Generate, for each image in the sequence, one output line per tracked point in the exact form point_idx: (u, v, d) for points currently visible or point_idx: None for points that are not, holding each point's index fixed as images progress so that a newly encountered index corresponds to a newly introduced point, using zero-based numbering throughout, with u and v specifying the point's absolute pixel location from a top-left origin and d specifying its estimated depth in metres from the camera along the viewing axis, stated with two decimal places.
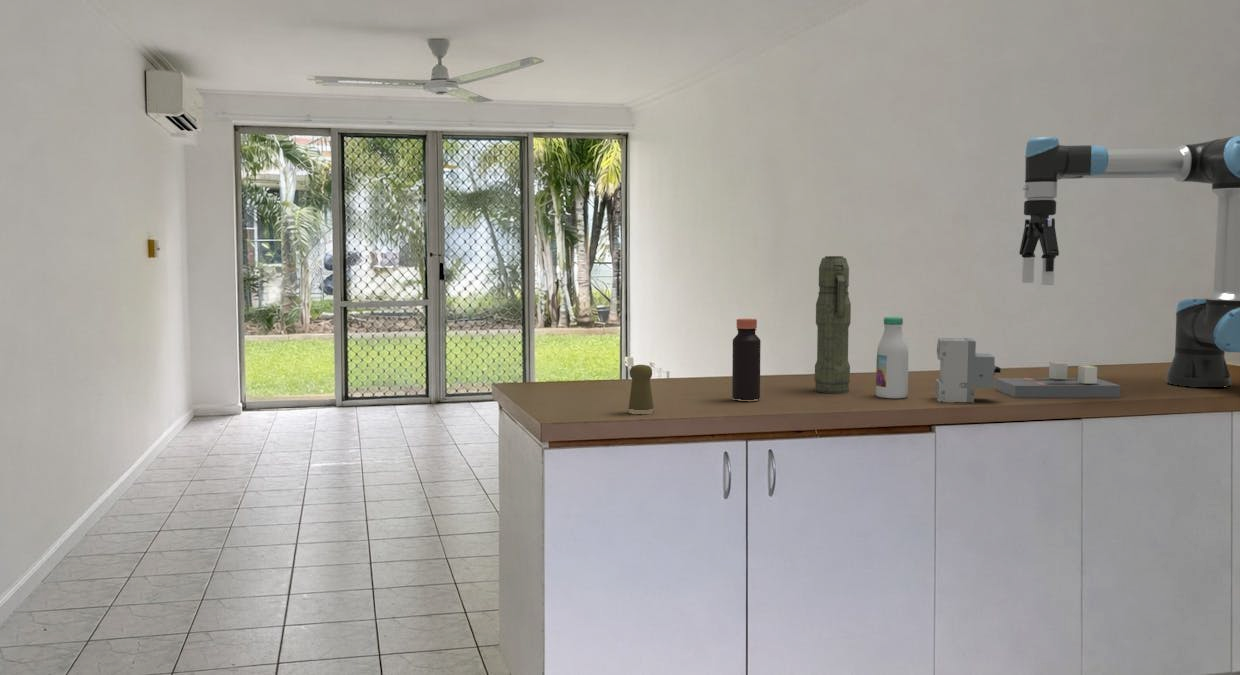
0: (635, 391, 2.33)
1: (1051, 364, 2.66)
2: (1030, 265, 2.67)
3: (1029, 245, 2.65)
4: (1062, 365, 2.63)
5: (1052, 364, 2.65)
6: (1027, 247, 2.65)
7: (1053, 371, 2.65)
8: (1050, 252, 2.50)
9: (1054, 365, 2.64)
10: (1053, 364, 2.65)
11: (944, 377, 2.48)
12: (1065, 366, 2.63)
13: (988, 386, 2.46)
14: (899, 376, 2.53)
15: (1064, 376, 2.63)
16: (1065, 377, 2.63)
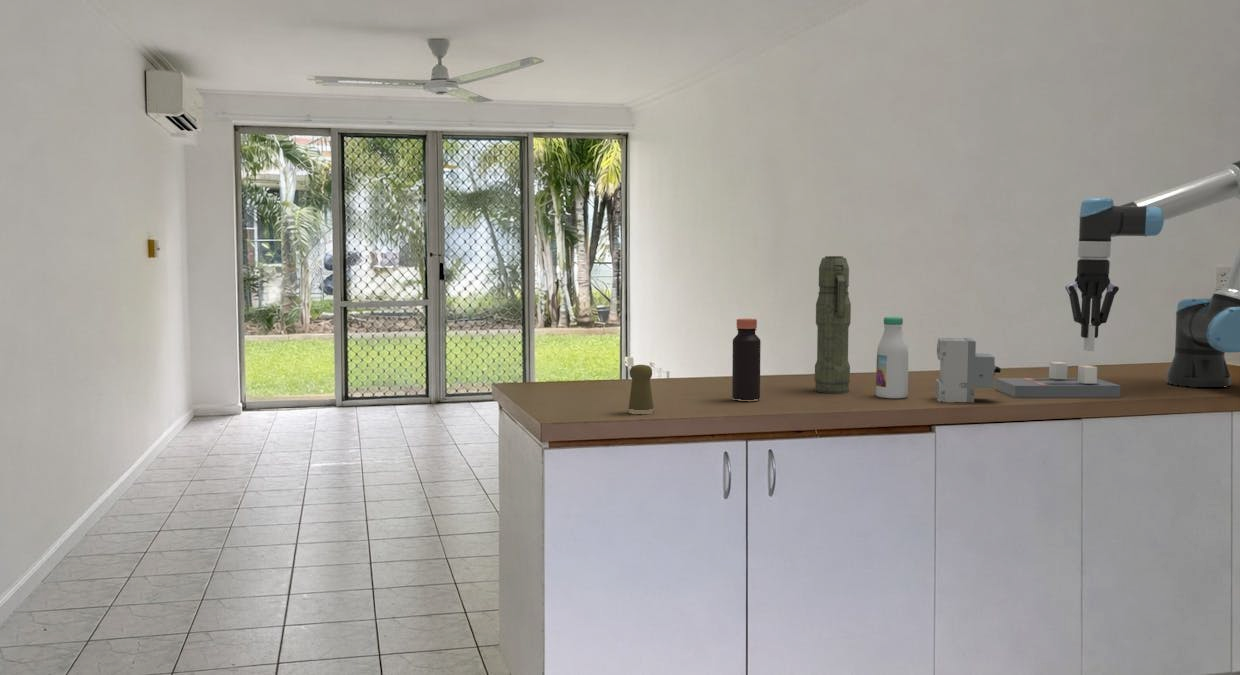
0: (635, 391, 2.33)
1: (1051, 364, 2.66)
2: None
3: (1092, 308, 2.64)
4: (1062, 365, 2.63)
5: (1052, 364, 2.65)
6: (1091, 310, 2.65)
7: (1053, 371, 2.65)
8: (1074, 320, 2.65)
9: (1054, 365, 2.64)
10: (1053, 364, 2.65)
11: (944, 377, 2.48)
12: (1065, 366, 2.63)
13: (988, 386, 2.46)
14: (899, 376, 2.53)
15: (1064, 376, 2.63)
16: (1065, 377, 2.63)
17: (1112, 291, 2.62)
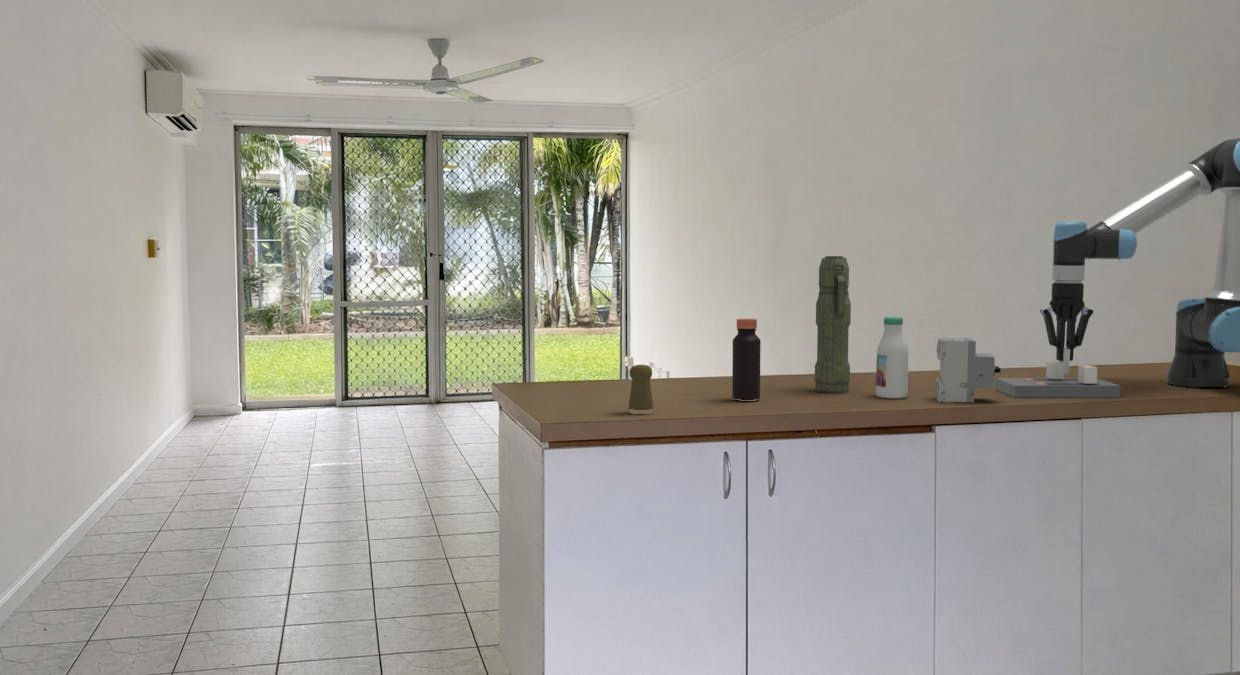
0: (635, 391, 2.33)
1: (1048, 364, 2.66)
2: None
3: (1067, 331, 2.65)
4: (1059, 365, 2.63)
5: (1049, 364, 2.65)
6: (1066, 333, 2.65)
7: (1050, 371, 2.65)
8: (1049, 343, 2.65)
9: (1051, 365, 2.64)
10: (1050, 364, 2.65)
11: (944, 377, 2.48)
12: (1062, 366, 2.63)
13: (988, 386, 2.46)
14: (899, 376, 2.53)
15: (1061, 376, 2.63)
16: (1062, 377, 2.63)
17: (1087, 314, 2.63)
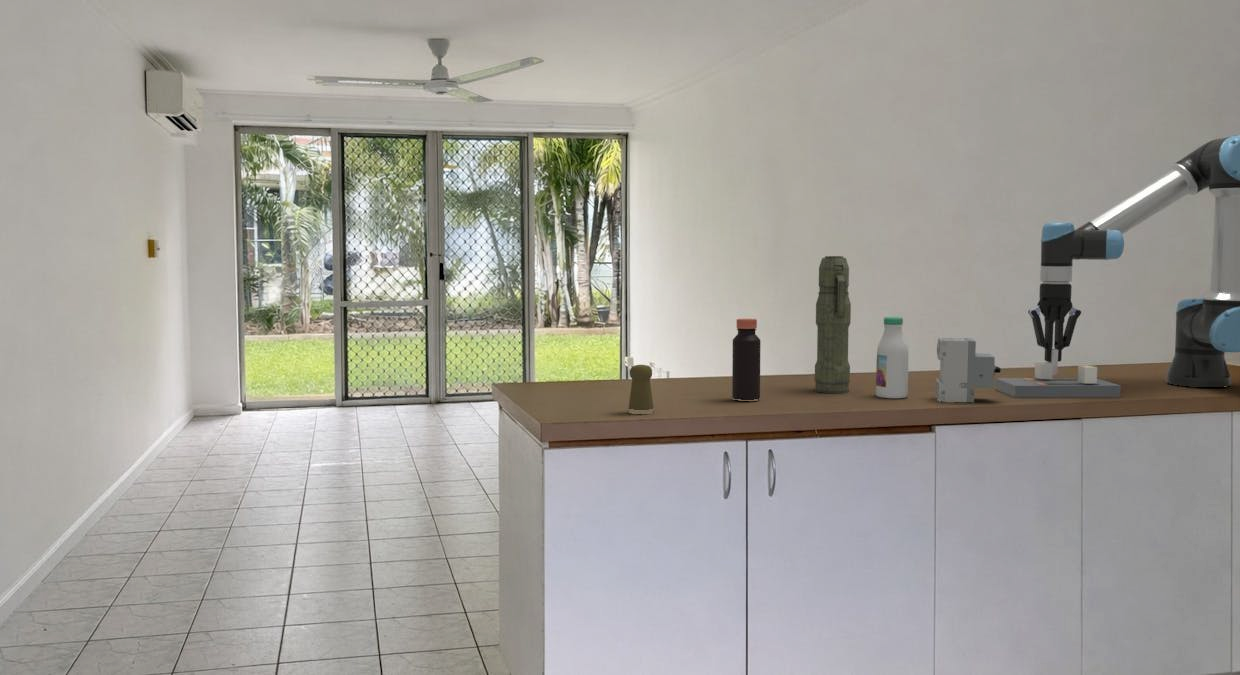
0: (635, 391, 2.33)
1: (1037, 364, 2.66)
2: None
3: (1055, 331, 2.65)
4: (1047, 365, 2.63)
5: (1038, 364, 2.65)
6: (1055, 334, 2.65)
7: (1039, 371, 2.65)
8: (1038, 344, 2.66)
9: (1040, 365, 2.64)
10: (1039, 364, 2.65)
11: (944, 377, 2.48)
12: (1050, 366, 2.63)
13: (988, 386, 2.46)
14: (899, 376, 2.53)
15: (1049, 376, 2.63)
16: (1050, 377, 2.64)
17: (1074, 315, 2.63)
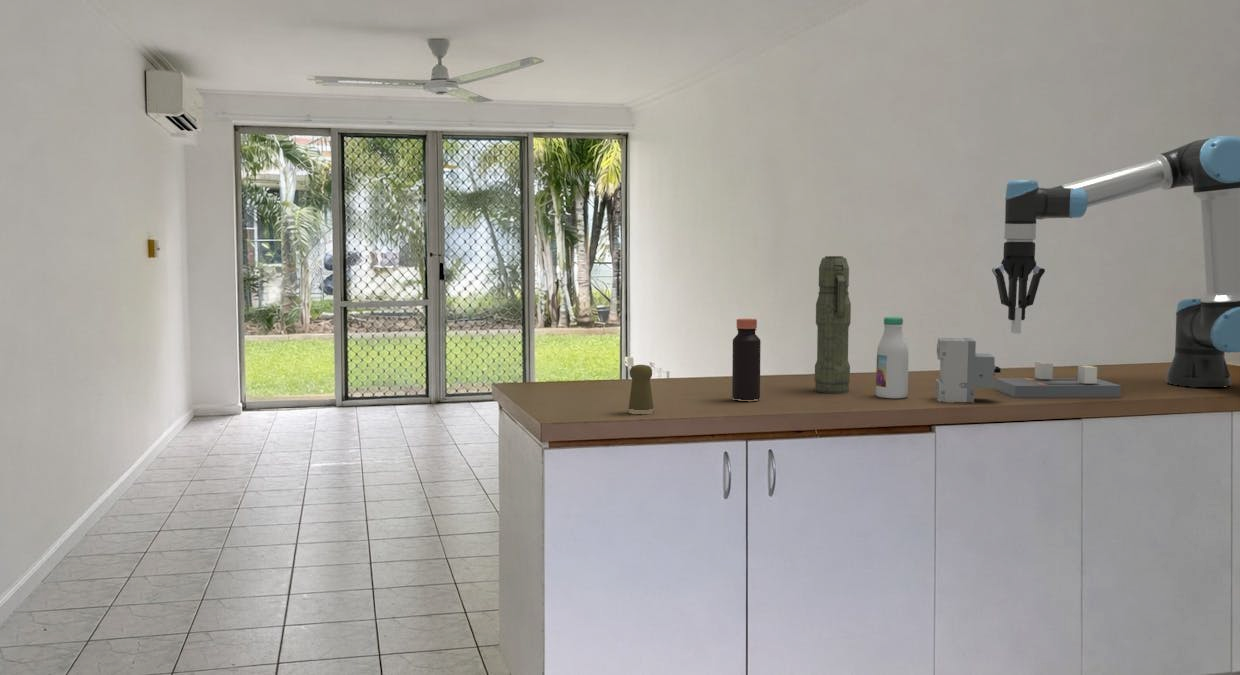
0: (635, 391, 2.33)
1: (1037, 364, 2.66)
2: None
3: (1019, 290, 2.64)
4: (1047, 365, 2.63)
5: (1038, 364, 2.65)
6: (1018, 293, 2.64)
7: (1039, 371, 2.65)
8: (1001, 303, 2.65)
9: (1040, 365, 2.64)
10: (1039, 364, 2.65)
11: (944, 377, 2.48)
12: (1050, 366, 2.63)
13: (988, 386, 2.46)
14: (899, 376, 2.53)
15: (1049, 376, 2.63)
16: (1050, 377, 2.64)
17: (1038, 273, 2.62)
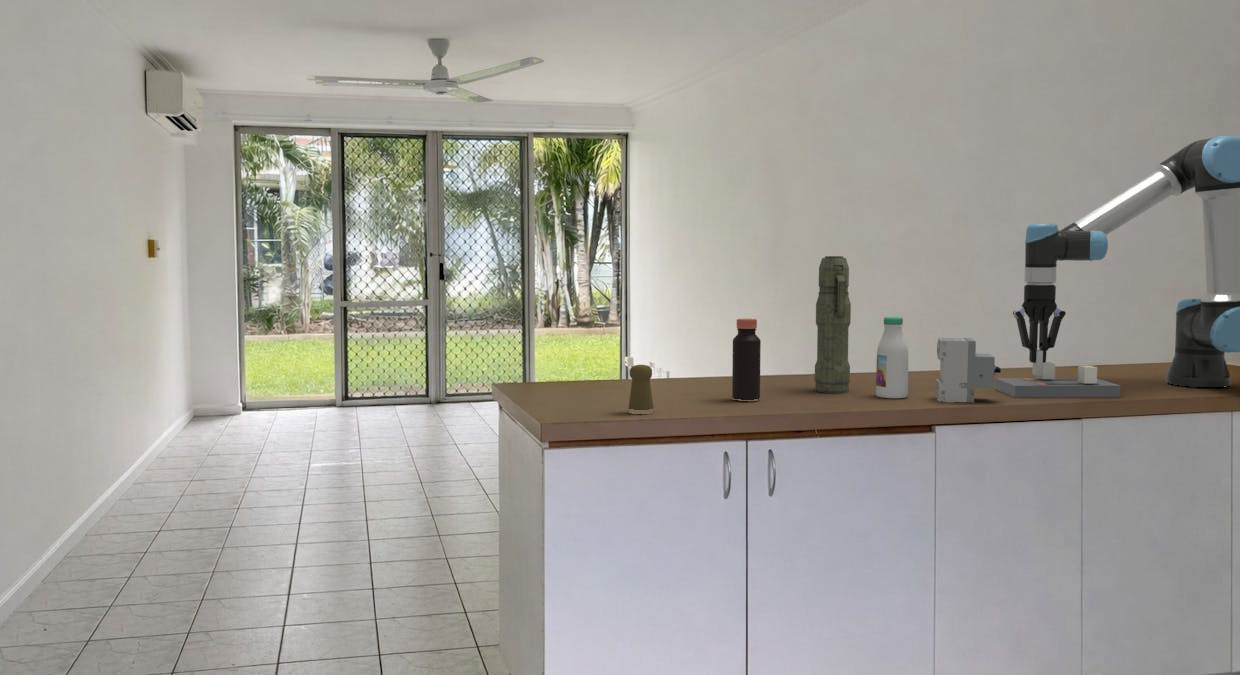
0: (635, 391, 2.33)
1: None
2: None
3: (1040, 333, 2.65)
4: (1050, 365, 2.63)
5: None
6: (1039, 335, 2.65)
7: None
8: (1022, 345, 2.66)
9: (1042, 365, 2.64)
10: None
11: (944, 377, 2.48)
12: (1053, 366, 2.63)
13: (988, 386, 2.46)
14: (899, 376, 2.53)
15: (1052, 376, 2.63)
16: (1053, 377, 2.64)
17: (1059, 316, 2.63)
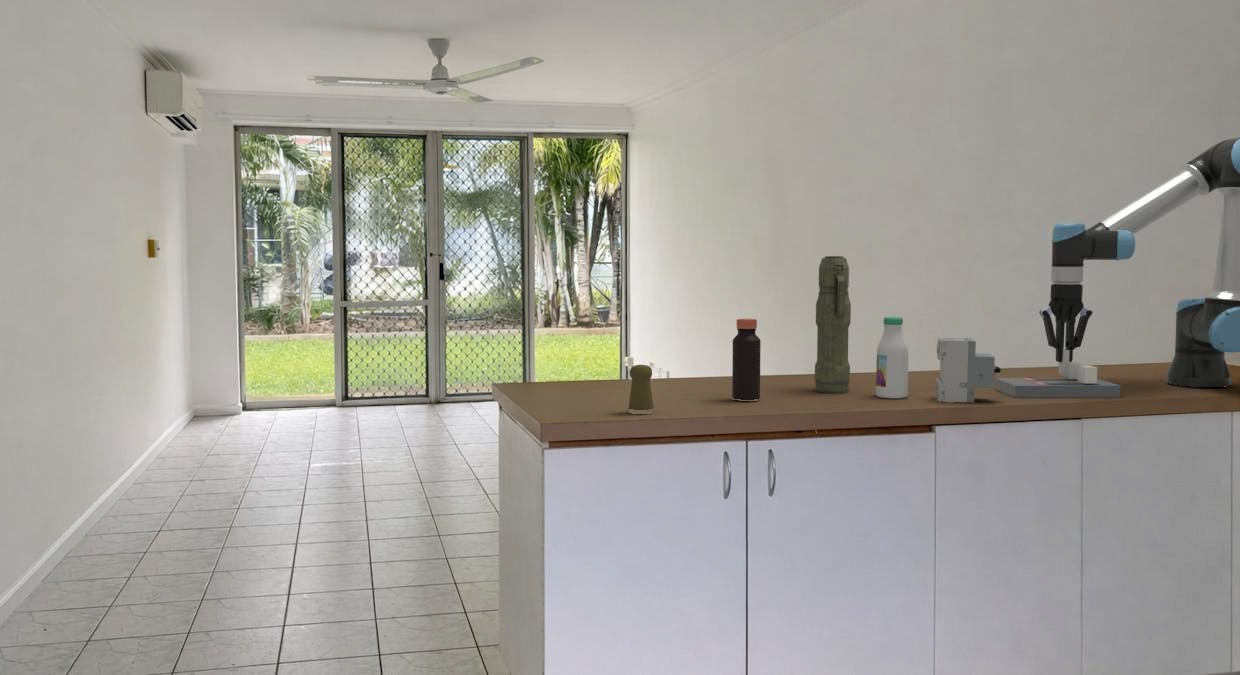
0: (635, 391, 2.33)
1: None
2: None
3: (1066, 332, 2.65)
4: (1076, 365, 2.63)
5: None
6: (1066, 334, 2.65)
7: None
8: (1049, 344, 2.65)
9: None
10: None
11: (944, 377, 2.48)
12: None
13: (988, 386, 2.46)
14: (899, 376, 2.53)
15: None
16: None
17: (1086, 315, 2.63)
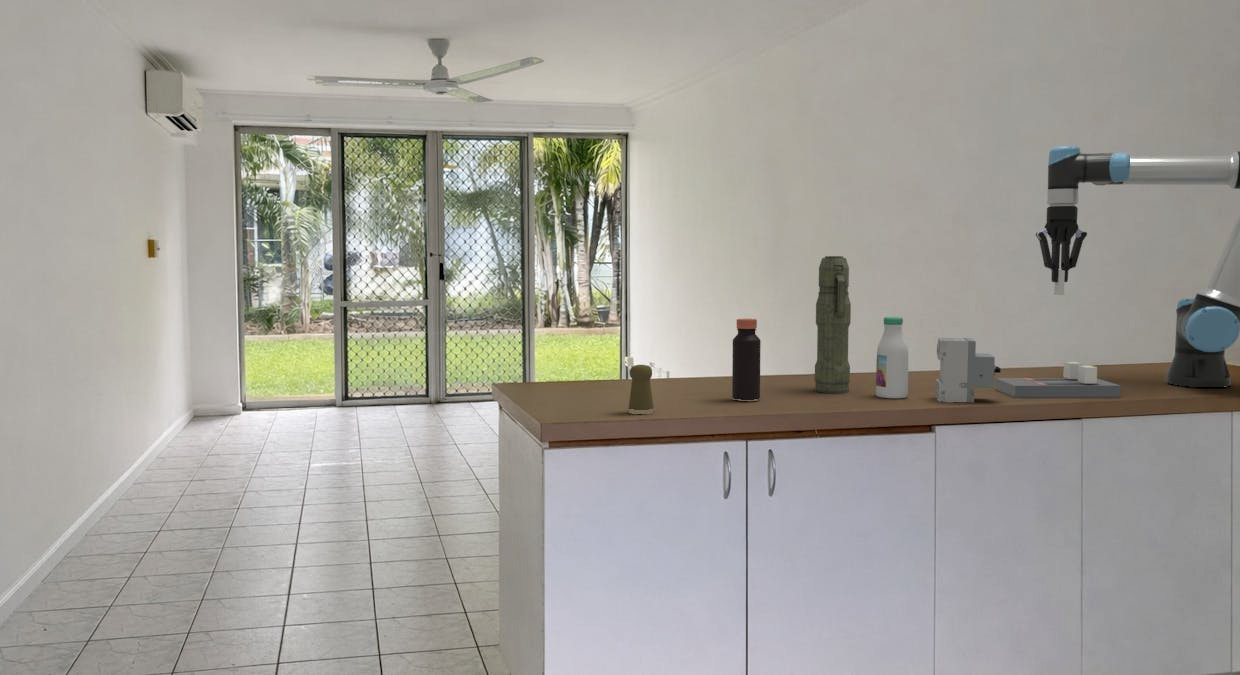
0: (635, 391, 2.33)
1: (1065, 364, 2.66)
2: None
3: (1062, 253, 2.74)
4: (1077, 365, 2.63)
5: (1066, 364, 2.65)
6: (1061, 256, 2.74)
7: (1067, 371, 2.65)
8: (1045, 265, 2.74)
9: (1069, 365, 2.64)
10: (1067, 364, 2.65)
11: (944, 377, 2.48)
12: None
13: (988, 386, 2.46)
14: (899, 376, 2.53)
15: None
16: None
17: (1080, 236, 2.72)
